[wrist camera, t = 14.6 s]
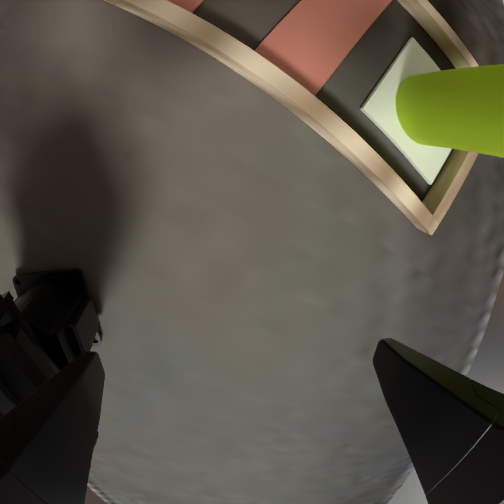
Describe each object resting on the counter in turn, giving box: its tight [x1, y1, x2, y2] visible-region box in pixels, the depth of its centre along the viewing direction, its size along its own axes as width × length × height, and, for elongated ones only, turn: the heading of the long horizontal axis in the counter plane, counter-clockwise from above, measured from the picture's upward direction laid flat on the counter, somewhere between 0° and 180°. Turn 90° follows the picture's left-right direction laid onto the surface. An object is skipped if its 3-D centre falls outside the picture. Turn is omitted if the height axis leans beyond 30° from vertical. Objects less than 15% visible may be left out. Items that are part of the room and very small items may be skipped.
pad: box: [360, 37, 452, 185], centre depth 20 cm, size 9×9×1 cm
